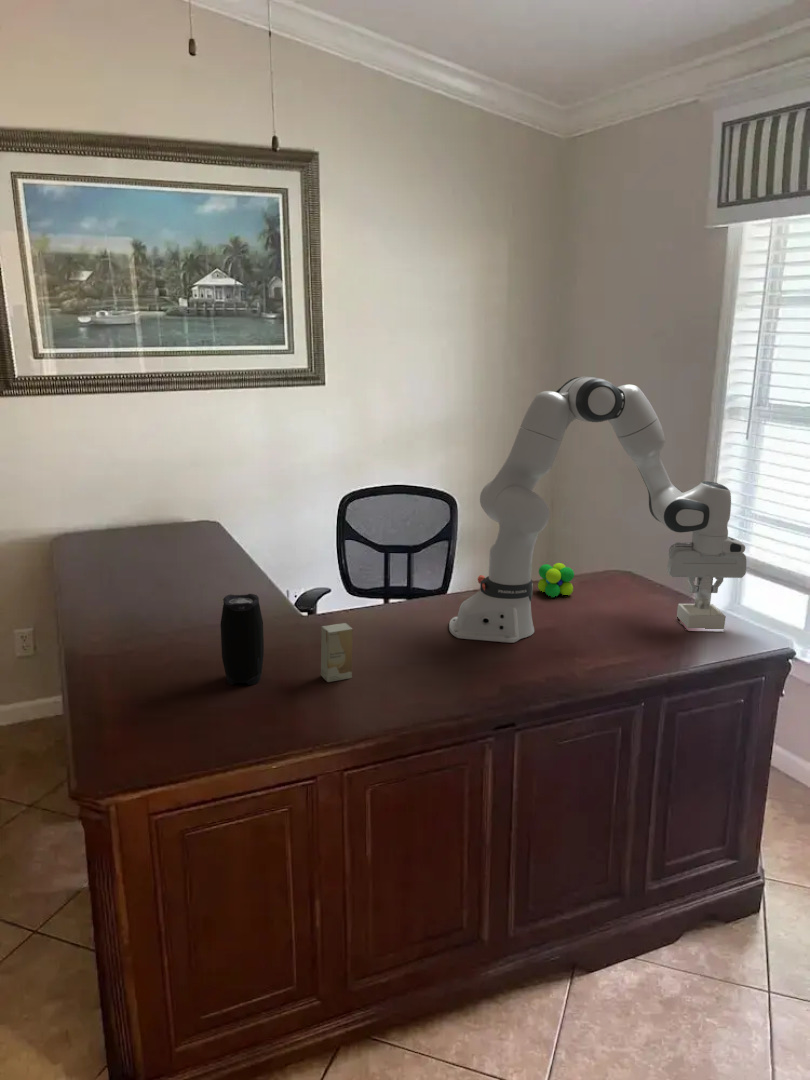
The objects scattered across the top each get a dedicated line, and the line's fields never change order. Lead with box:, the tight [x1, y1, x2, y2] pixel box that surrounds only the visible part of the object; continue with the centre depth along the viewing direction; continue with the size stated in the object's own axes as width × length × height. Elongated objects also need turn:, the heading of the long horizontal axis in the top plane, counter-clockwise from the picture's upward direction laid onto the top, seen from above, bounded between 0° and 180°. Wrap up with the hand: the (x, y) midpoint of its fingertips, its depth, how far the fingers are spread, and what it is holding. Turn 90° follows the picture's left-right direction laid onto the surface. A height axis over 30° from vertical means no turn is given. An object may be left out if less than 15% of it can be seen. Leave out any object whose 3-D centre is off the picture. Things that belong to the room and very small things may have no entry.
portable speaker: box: [220, 593, 265, 686], centre depth 193 cm, size 9×9×20 cm
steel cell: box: [693, 575, 714, 609], centre depth 231 cm, size 4×4×10 cm
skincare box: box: [320, 622, 353, 683], centre depth 197 cm, size 6×4×12 cm
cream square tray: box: [676, 603, 726, 630], centre depth 233 cm, size 10×10×4 cm
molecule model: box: [537, 562, 575, 598], centre depth 257 cm, size 9×9×9 cm
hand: (703, 592), depth 232 cm, fingers closed on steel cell, 4 cm apart
